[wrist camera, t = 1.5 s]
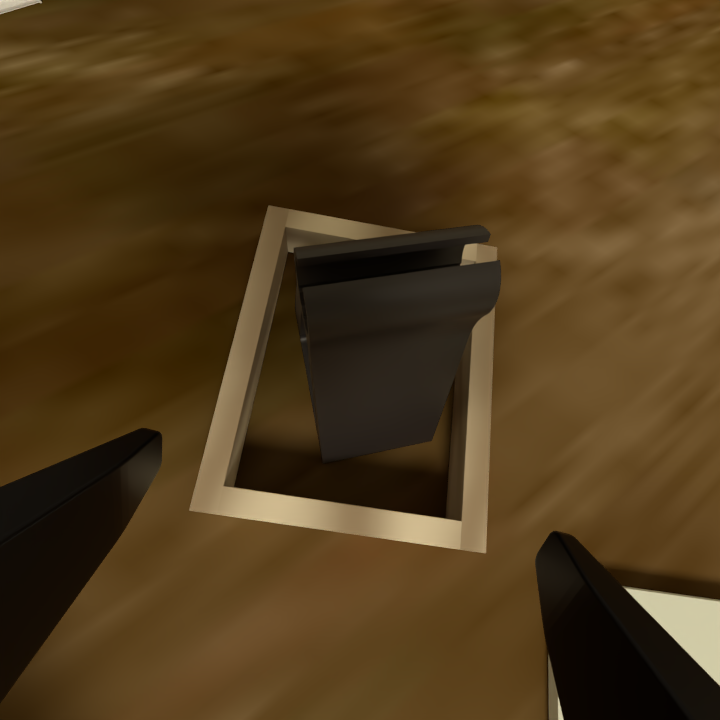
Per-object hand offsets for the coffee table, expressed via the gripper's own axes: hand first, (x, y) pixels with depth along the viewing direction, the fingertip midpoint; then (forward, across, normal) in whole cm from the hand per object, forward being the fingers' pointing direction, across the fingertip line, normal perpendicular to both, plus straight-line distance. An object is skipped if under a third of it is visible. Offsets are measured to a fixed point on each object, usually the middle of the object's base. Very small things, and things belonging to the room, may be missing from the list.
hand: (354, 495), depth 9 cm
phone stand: (+14, 0, +4) cm, 14 cm away
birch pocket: (+14, 0, +4) cm, 14 cm away
